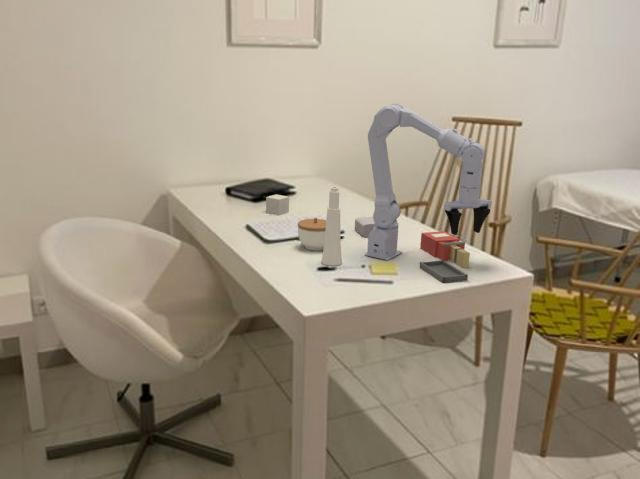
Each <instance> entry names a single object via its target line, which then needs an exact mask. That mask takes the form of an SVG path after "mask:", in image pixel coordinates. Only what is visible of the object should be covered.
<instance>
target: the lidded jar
mask: <svg viewBox="0 0 640 479" xmlns="http://www.w3.org/2000/svg"><path fill="white" fill-rule="evenodd" d="M325 230H326V219H323V218H321V219H320V218H318V217H314V218H307V219H306V218H305V219H301V220H300V221H298V222H297V232H298V234H297V235H298V239H299V241H300V243H301V244H302V245H303V247H304V249H306V250H309V251H323V249H324V241H325Z"/></svg>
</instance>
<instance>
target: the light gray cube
mask: <svg viewBox="0 0 640 479" xmlns="http://www.w3.org/2000/svg"><path fill="white" fill-rule="evenodd" d="M265 199H266V200H265V213H266V214H269V215H274V216H275V215H276V216H281V215H285V214H287V213H289V212H290V203H289V202H290V197H289V196H286V195H281V194H272V195H269V196H266V197H265Z"/></svg>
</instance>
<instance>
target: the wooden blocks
mask: <svg viewBox="0 0 640 479" xmlns="http://www.w3.org/2000/svg"><path fill="white" fill-rule="evenodd" d="M470 254H471V253H470V252H469V251H467V250H466V249H465V248H464V249H462V248H460V247H458V246H456V245H451V246H450V253H449V261H451V262H452V263H454V264H456V265H457V266H459V267H461V268H469V265H470Z"/></svg>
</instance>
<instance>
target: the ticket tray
mask: <svg viewBox="0 0 640 479" xmlns="http://www.w3.org/2000/svg"><path fill="white" fill-rule="evenodd" d="M419 269H420V270H422V271H424V272H425V273H427V274H429V275H430V276H432V277H433V278H434V279H436V280H438V281H439V282H440V283H442V284H448V283H457V282H466V281H468V278H469V276H468V274H467V273H465V272H464V271H462V270H460V269H459V268H457V267H456V266H454V265H453V264H450V263H449V262H447V261H444V260H441V259H439V260H431V261H420V262H419Z"/></svg>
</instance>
